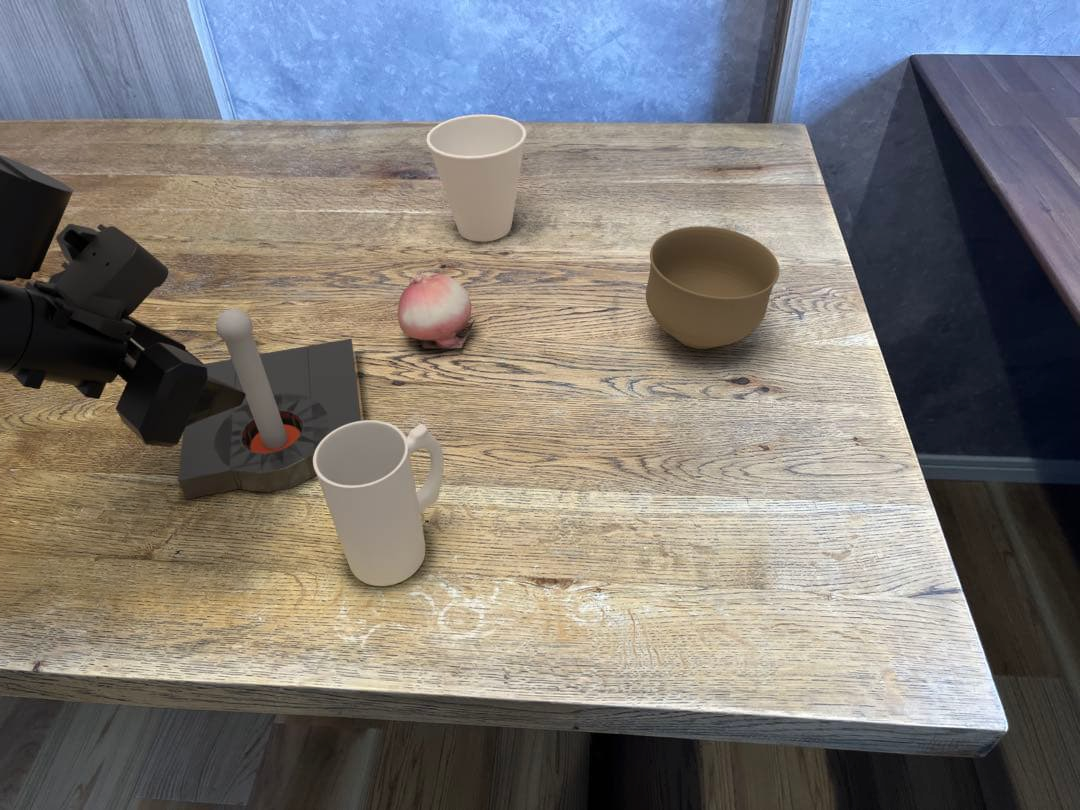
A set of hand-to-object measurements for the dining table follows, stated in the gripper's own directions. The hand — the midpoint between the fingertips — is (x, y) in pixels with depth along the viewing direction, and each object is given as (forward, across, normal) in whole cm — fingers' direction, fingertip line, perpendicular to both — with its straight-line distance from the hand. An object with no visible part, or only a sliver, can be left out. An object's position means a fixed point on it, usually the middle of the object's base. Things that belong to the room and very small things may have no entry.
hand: (211, 374), depth 67 cm
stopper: (+10, 0, +6) cm, 12 cm away
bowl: (+38, -20, -22) cm, 48 cm away
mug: (+11, -17, +6) cm, 21 cm away
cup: (+39, +14, -22) cm, 47 cm away
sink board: (+12, +3, +4) cm, 13 cm away
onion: (+26, +1, -9) cm, 27 cm away
